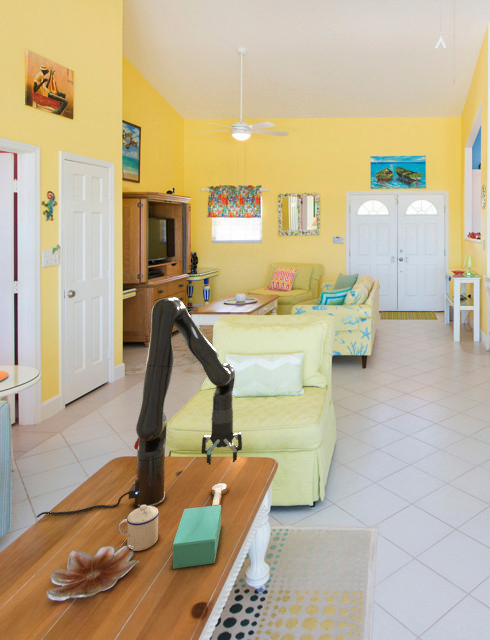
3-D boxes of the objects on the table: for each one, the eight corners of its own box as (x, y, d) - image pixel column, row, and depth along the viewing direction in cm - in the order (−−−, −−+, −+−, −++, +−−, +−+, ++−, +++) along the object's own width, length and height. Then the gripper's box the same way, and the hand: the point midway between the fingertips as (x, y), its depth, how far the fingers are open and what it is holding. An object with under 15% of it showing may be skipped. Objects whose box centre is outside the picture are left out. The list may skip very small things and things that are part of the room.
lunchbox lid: (214, 541, 138) (214, 538, 138) (172, 546, 135) (172, 544, 135) (221, 507, 156) (221, 504, 156) (184, 511, 153) (184, 508, 153)
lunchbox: (214, 563, 138) (214, 540, 138) (172, 568, 136) (173, 545, 136) (220, 527, 156) (221, 507, 156) (184, 531, 153) (184, 511, 153)
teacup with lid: (163, 533, 152) (163, 498, 152) (150, 552, 143) (150, 514, 143) (126, 533, 152) (127, 497, 152) (111, 552, 143) (111, 514, 143)
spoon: (223, 512, 164) (223, 504, 164) (207, 514, 163) (207, 506, 163) (227, 487, 181) (227, 480, 181) (212, 489, 179) (213, 481, 179)
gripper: (242, 413, 178) (242, 456, 178) (203, 416, 174) (203, 459, 174) (241, 421, 170) (241, 465, 170) (200, 424, 167) (200, 469, 167)
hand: (221, 462), depth 172 cm, fingers open, 8 cm apart
